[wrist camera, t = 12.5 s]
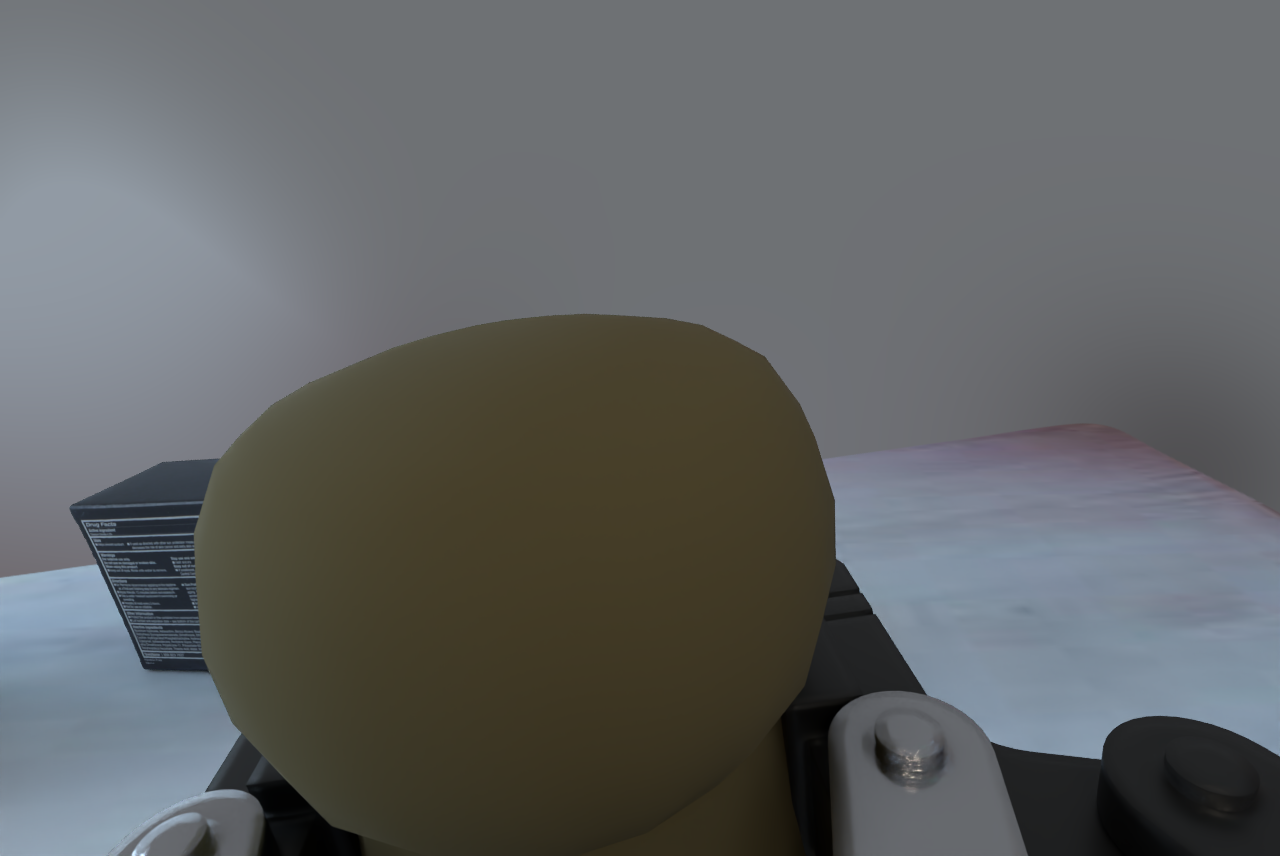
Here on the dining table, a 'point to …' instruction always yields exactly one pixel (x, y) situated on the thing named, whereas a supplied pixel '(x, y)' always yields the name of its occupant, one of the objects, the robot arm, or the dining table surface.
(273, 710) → the olive green rounded piece
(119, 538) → the small box
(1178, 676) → the dining table surface
